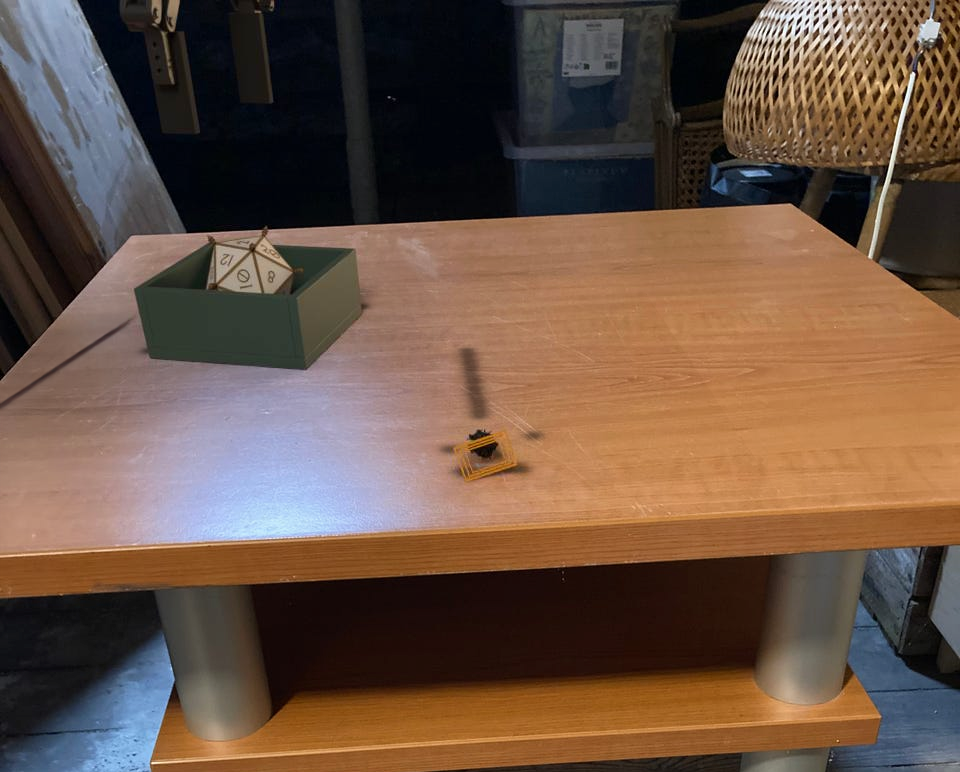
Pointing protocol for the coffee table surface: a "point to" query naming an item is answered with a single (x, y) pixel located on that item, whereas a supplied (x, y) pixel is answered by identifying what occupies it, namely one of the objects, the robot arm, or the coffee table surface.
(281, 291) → the game die
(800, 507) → the coffee table surface
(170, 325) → the bin
